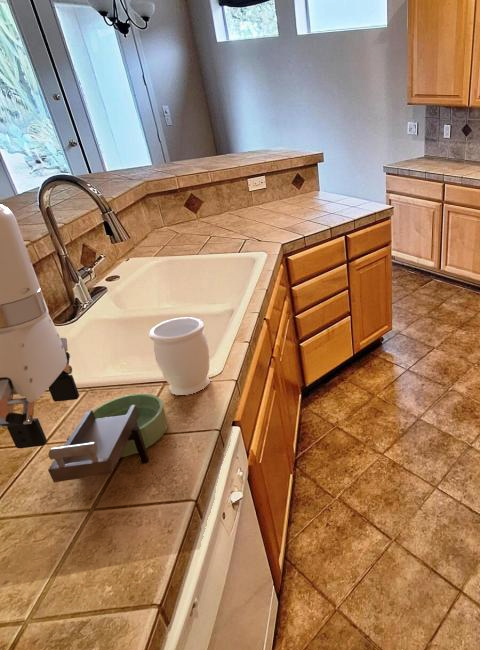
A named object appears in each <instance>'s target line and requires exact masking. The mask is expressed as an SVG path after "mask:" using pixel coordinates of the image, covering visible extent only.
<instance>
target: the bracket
mask: <svg viewBox="0 0 480 650" xmlns="http://www.w3.org/2000/svg"><path fill="white" fill-rule="evenodd" d="M131 433H132V434H130V436H129V439H128V440H134V442H135V445H136V448H137V451H138V453H137V454H138V458H139V460H140V463H141V464H142V465H143V464H148V463H149V460H150V458H149V457H150V456H149V453H148V451H147V448H145V444H144V441H143V438H142V435H141V432H140V429H139V426H138V427H133V428H132V430H131ZM70 436H71V434H70V435H68V436H67V438H66V441H67V440H68V439H69V437H70Z"/></svg>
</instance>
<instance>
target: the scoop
mask: <svg viewBox="0 0 480 650" xmlns="http://www.w3.org/2000/svg"><path fill="white" fill-rule="evenodd" d="M138 418H139V413H138V410H137V407H136V405H131V406H130V408H129V410H128V412H127V414H126V415H122V416H114V417H106V418H98V419H95V416H94V414H93V409H88V410H86V411H85V413H84V414H83V416H82V418H81V419H80V420H79V422H78V423H77V425H76V427H75V428H74V430H73V431H72V433H71V434H70V435H71V436H70V435H69V436H70V437H69V436H68V437H69V439H68V440H67V439H66V442H65V443H64V445H62V446H57V447H52V448H50V449H49V451H48V457H49V460H53V461H52V463H51V464H50V466H49V467H48V469H47V471H48V473H49V475H50V477H51V479H52V482H53V483H60V482H66V481H73V480H80V479H86V478H93V477H99V476H105V475H112V473H113V472H114V470H115V467H116V465H117V464H118V461H119V460H120V458H121V457H120V455H121V453H122V451H123V449H124V447H125V445H126V443H127V441H128V439H129V436H130V434H131V430H132V428H133V427H134V426H135V424H136V422H137V420H138ZM119 457H120V458H119Z"/></svg>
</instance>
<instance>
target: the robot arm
mask: <svg viewBox="0 0 480 650" xmlns="http://www.w3.org/2000/svg"><path fill="white" fill-rule="evenodd" d="M49 312H50V311H49V308H48V306H47V303H46V300H45V298H44V294H43V292H42V288H41V285H40V283H39V280H38V277H37V275H36V272H35V269H34V266H33V263H32V260H31V257H30V255H29V252H28V249H27V246H26V243H25V241H24V237H23V235H22V232H21V229H20V227H19V224H18V221H17V218H16V215H14V212H12V210H11V209H9V208H8V207H7V206H5V205H3V204H0V426H1V427H2V428H6V429H7V431H8V433H9V436H10V437H11V440H12V442H13V445H14V446H15V448H17V449H28V448H37V447H43V446H45V445H46V444H47V442H48V440H47V437H46V434H45V432H44V430H43V427H42V425H41V423H40V420H39V418H38V417H35V418H34V411H35V402H36V401H37V400H39V399H40V398H41V397H42V396H43V395H44V394H45V393H46V391H47V390H49V393H50V395H51V398H52V401H53V402H56V403H57V402H66V401H74V400H78V399H79V398H80V393H79V391H78V387H77V384H76V382H75V379H74V376H73V374H72V373H73V367H72V366H71V365H70V358H71V354H70V353H69V352H68V339H67V338H66V337H60V334H59V332H58V330H57V328H56V325H55V323H54V322H53V319H52V318H51V316H50V313H49ZM14 395H19V396H21V397H22V398H21V397H20V398H14ZM17 405H22V413H18V412H14V406H17Z"/></svg>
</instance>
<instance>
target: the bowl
mask: <svg viewBox="0 0 480 650" xmlns="http://www.w3.org/2000/svg"><path fill="white" fill-rule="evenodd" d="M131 405H136V407H137V410H138V413H139V418H138V420H137V424H138V426H139V429H140V432H141V435H142V438H143V441H144V444H145V448H146V449H147V448H150V447H151V446H152V445H154V444H155V443H156V442H158V441H159V440H160V439H161V438H162V437H163V436H164V434H165V433H166V431H167V429H168V426H169V421H168V416H167V412H166V410H165V405H164V401H163V400H162V399H161V398H160V397H159V396H157V395H155V394H151V393H142V392H141V393H140V392H139V393H132V394H126V395H123V396H118V397H116V398H113V399H110V400H108V401H106V402H104V403H102V404H100V405H99V406H97V407H95V408H93V409H92V411H93V414H94V416H95V419H98V418H106V417H114V416H122V415H126V414H127V412H128V410H129V408H130V406H131ZM131 434H132V433H131ZM134 454H138V451H137V448H136V445H135V442H134V440H128V441H127V443H126V445H125V447H124V449H123V451H122V453H121V455H120V457H119V459H120V458H124V457H125V458H126V457H128V456H129V457H130V456H131V455H134Z"/></svg>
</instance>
